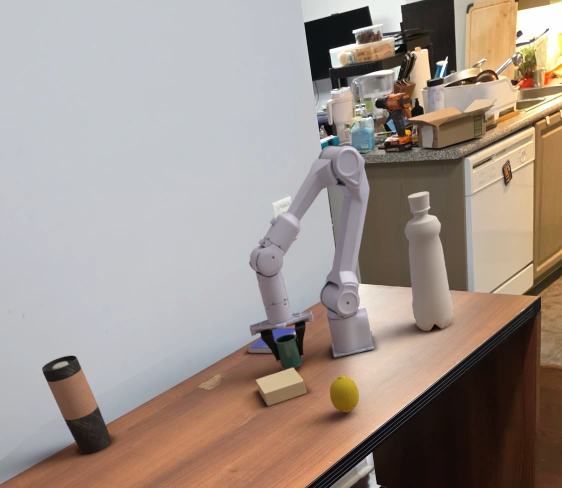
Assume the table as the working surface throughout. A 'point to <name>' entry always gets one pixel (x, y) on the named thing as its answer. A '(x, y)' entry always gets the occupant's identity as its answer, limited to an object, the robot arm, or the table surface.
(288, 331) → the blue book
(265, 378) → the block
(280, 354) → the cup
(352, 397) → the lemon
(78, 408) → the travel mug
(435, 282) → the bottle
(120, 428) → the table surface
